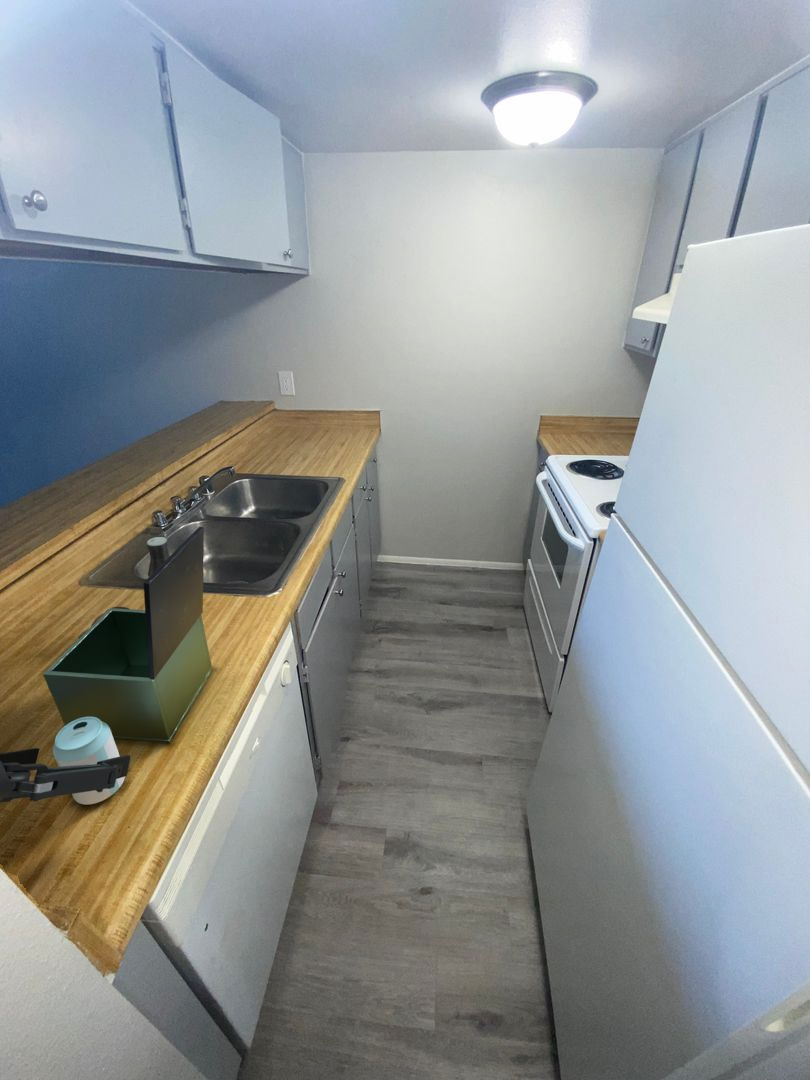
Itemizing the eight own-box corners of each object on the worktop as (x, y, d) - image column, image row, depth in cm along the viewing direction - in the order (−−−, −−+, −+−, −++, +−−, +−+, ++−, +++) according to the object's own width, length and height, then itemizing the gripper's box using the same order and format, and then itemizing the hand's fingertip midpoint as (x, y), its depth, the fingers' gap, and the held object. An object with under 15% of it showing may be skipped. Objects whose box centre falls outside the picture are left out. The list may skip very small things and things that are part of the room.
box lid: (143, 582, 65) (148, 583, 65) (199, 526, 80) (204, 527, 80) (148, 679, 73) (154, 680, 73) (198, 611, 89) (202, 612, 89)
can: (63, 794, 72) (37, 741, 66) (106, 758, 77) (86, 706, 72) (94, 815, 69) (69, 761, 63) (136, 776, 75) (118, 723, 69)
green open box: (69, 736, 81) (42, 674, 74) (128, 664, 96) (110, 607, 90) (170, 743, 80) (152, 681, 73) (212, 670, 96) (201, 613, 89)
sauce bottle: (154, 612, 112) (135, 538, 102) (181, 602, 115) (165, 530, 106) (163, 626, 107) (144, 550, 98) (191, 615, 111) (175, 541, 102)
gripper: (69, 762, 48) (170, 740, 69) (-163, 744, 49) (5, 727, 70) (47, 846, 46) (159, 797, 67) (-194, 825, 47) (-12, 783, 67)
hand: (80, 761), depth 68 cm, fingers open, 13 cm apart
